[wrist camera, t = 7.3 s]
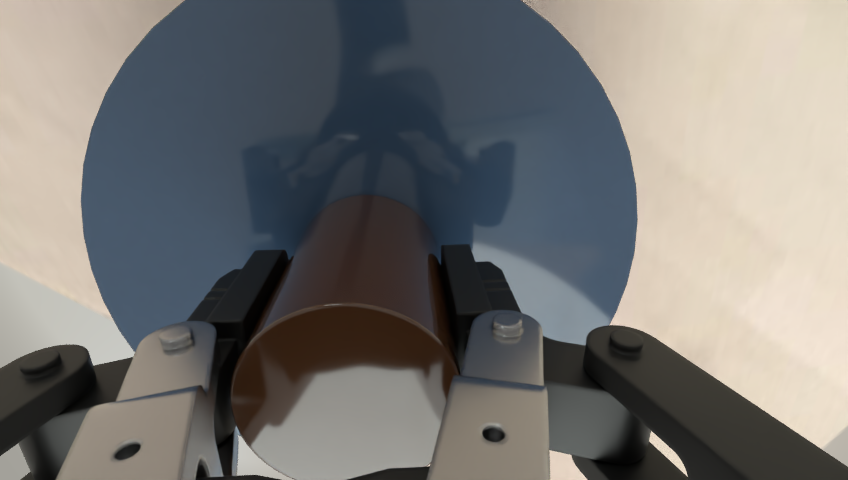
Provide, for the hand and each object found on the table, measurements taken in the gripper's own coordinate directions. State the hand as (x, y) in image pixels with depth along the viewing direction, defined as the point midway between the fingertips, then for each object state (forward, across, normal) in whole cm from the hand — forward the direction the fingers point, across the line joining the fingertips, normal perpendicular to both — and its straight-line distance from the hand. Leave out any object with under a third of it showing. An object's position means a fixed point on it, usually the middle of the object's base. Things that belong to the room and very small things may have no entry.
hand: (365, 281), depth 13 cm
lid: (+2, 0, 0) cm, 2 cm away
